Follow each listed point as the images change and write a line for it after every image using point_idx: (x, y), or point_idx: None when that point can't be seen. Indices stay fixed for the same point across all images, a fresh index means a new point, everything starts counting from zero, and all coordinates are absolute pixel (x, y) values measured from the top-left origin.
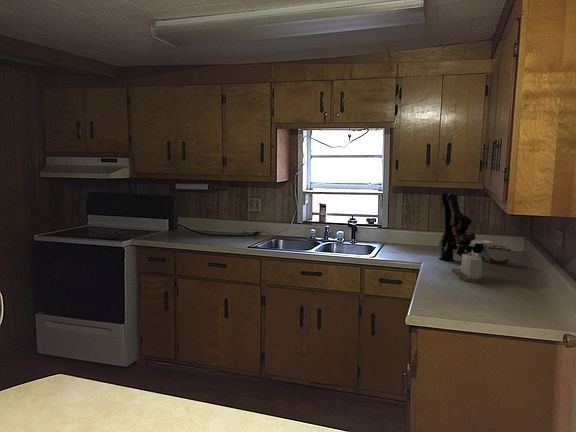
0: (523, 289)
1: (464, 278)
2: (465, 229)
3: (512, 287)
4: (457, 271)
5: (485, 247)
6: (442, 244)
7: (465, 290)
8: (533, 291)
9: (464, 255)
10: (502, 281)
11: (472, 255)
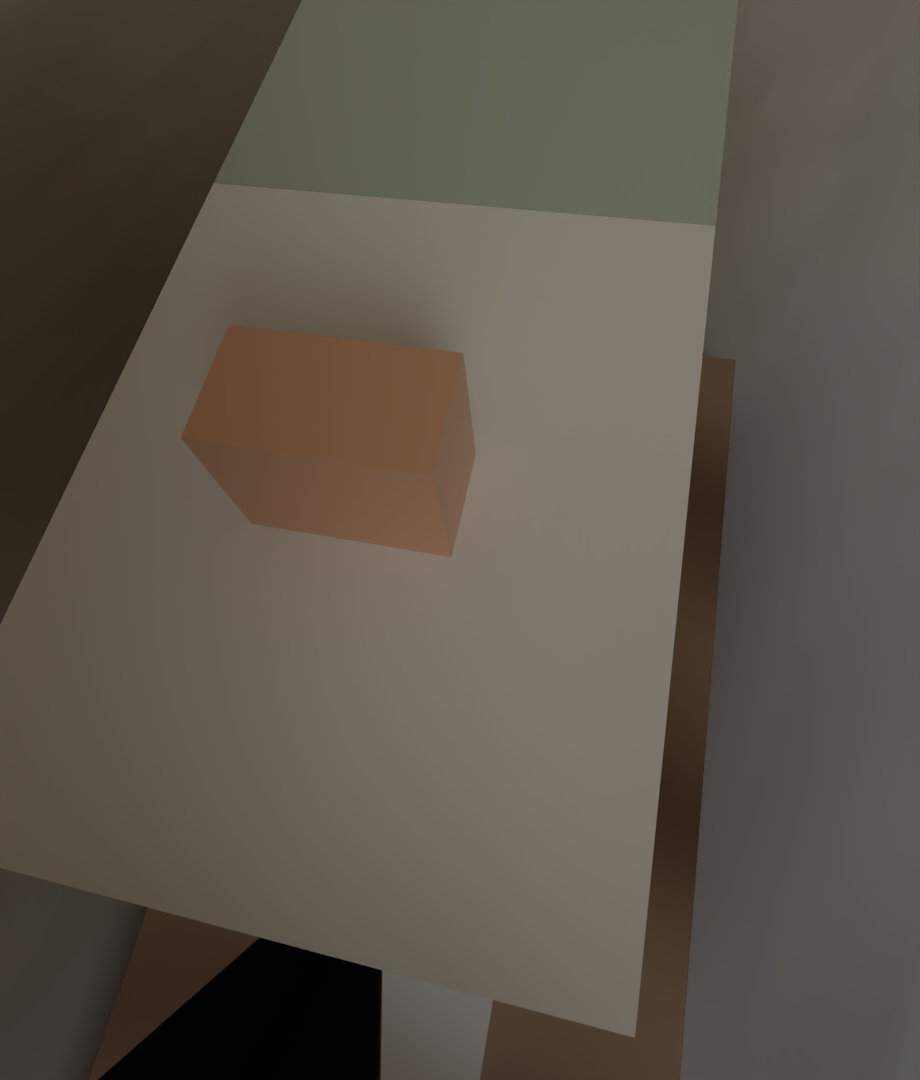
0: (121, 67)
1: (732, 374)
2: None
3: (182, 127)
4: (643, 990)
5: None
6: None
7: (891, 32)
8: (80, 16)
9: (672, 539)
10: (68, 366)
11: (195, 512)
